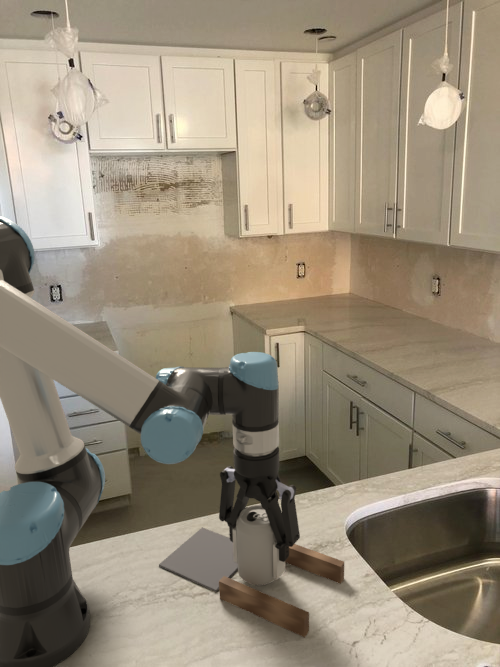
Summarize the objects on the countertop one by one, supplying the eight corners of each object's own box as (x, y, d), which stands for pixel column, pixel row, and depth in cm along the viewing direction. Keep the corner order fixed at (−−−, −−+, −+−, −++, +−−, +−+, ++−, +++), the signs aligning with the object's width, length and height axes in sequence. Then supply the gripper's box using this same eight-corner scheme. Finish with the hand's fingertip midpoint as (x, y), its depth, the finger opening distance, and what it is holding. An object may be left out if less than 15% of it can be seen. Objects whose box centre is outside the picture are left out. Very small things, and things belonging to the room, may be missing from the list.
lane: (219, 598, 92) (218, 581, 91) (265, 549, 104) (265, 533, 103) (304, 637, 83) (304, 618, 82) (344, 578, 95) (344, 561, 94)
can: (243, 557, 100) (241, 499, 97) (283, 562, 98) (283, 503, 95) (233, 585, 93) (231, 524, 90) (277, 591, 91) (276, 529, 88)
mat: (159, 566, 100) (158, 564, 100) (202, 529, 111) (202, 527, 110) (216, 591, 93) (216, 590, 93) (256, 549, 104) (256, 547, 104)
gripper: (193, 441, 91) (199, 558, 97) (300, 472, 81) (300, 601, 87) (219, 424, 98) (224, 535, 103) (322, 451, 87) (321, 574, 93)
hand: (259, 565), depth 95 cm, fingers closed on can, 7 cm apart
